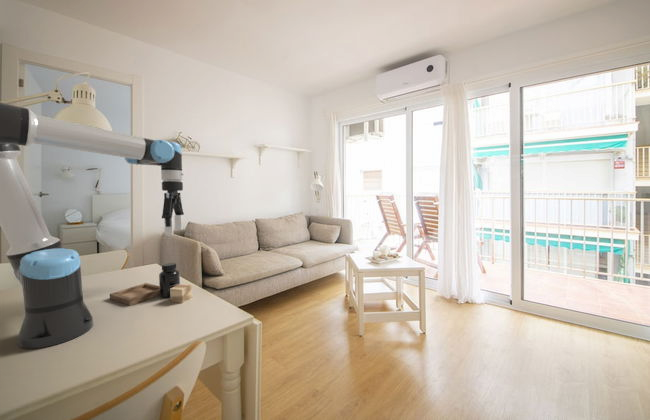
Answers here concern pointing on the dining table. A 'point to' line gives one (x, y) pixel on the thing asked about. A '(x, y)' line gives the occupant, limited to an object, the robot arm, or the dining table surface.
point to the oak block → (181, 293)
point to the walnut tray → (136, 294)
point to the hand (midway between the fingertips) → (174, 232)
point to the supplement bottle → (168, 279)
